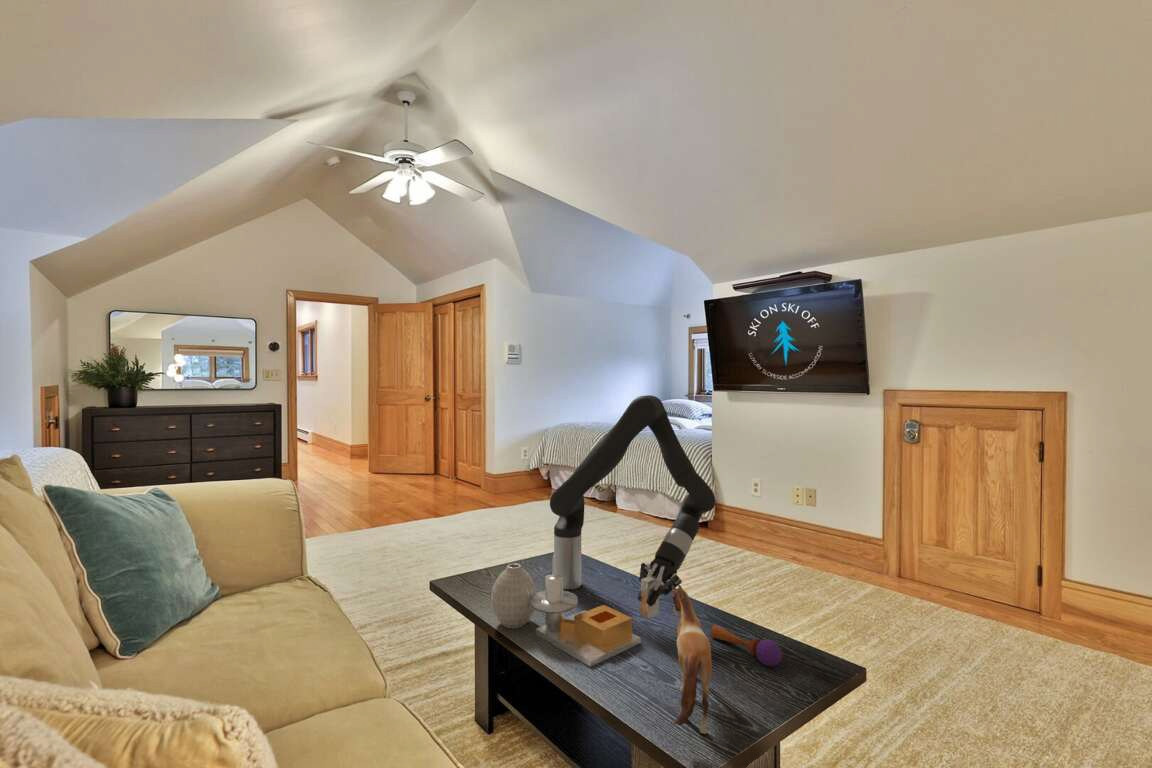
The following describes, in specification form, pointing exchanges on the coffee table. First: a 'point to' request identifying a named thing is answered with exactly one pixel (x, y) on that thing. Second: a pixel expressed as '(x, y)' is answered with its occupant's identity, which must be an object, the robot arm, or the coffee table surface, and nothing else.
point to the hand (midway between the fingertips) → (644, 602)
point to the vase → (513, 597)
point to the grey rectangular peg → (646, 590)
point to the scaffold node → (581, 625)
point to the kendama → (752, 646)
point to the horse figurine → (691, 657)
